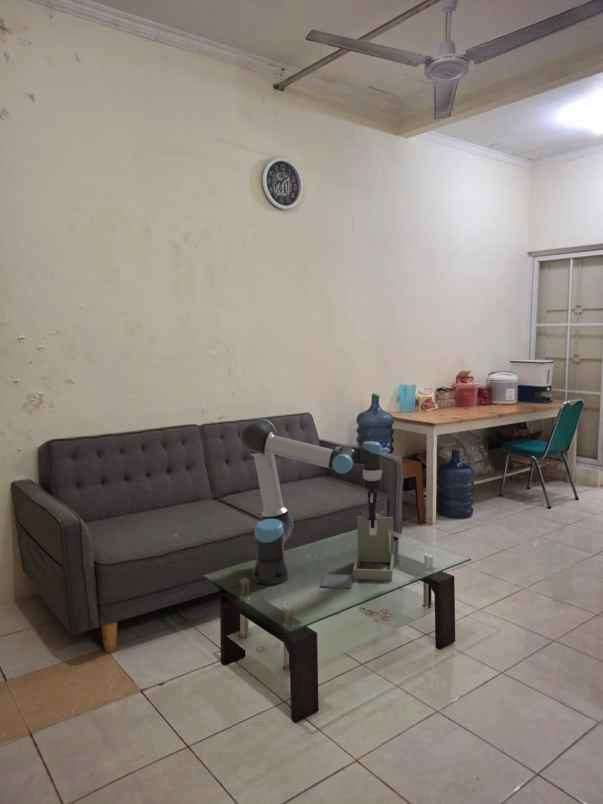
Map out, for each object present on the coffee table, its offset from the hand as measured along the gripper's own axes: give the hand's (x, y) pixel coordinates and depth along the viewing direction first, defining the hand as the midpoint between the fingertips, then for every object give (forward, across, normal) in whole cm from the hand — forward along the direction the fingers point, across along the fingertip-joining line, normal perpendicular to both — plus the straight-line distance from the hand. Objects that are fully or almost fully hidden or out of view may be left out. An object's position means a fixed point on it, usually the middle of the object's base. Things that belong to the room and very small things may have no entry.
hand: (373, 533), depth 247 cm
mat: (+16, -14, +14) cm, 25 cm away
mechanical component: (+1, 0, 0) cm, 1 cm away
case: (+16, 0, 0) cm, 16 cm away
